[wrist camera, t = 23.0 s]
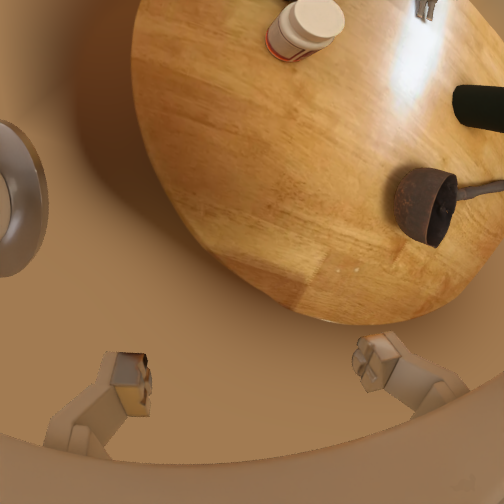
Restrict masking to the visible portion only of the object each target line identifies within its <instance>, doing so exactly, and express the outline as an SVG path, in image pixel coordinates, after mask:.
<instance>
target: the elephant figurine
mask: <svg viewBox="0 0 504 504" xmlns="http://www.w3.org/2000/svg"><path fill="white" fill-rule="evenodd" d="M437 1H438V0H420V6H419V10H418V13H417V16H418V17H421V18H423V14H424V10H425V5H426V3H427V2H428V7H429V8H428V13H427V18H426V19H428V20H430V21H432V18H433V11H434V7H435V4H436V3H437Z"/></svg>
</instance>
